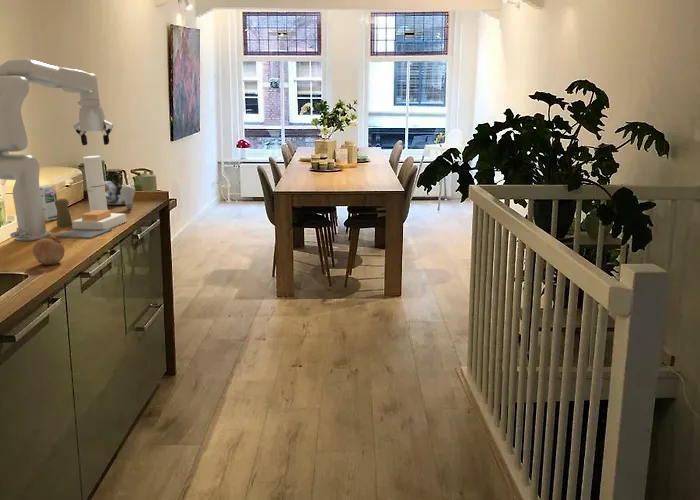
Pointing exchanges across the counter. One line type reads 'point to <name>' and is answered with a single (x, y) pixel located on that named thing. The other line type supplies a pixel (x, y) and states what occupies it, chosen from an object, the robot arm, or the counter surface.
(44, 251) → the onion
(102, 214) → the tile
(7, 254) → the counter surface
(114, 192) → the lucky cat figurine
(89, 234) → the mat
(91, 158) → the tall white block
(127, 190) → the lightbulb
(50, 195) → the syrup box
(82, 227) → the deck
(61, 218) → the olive green shaker
